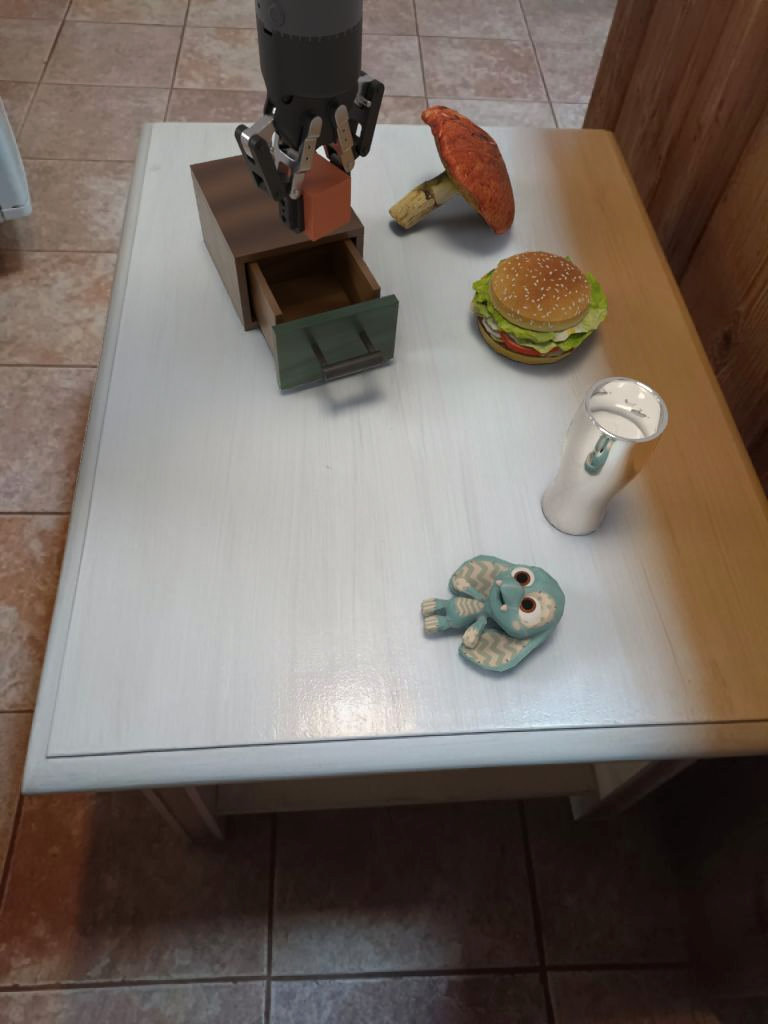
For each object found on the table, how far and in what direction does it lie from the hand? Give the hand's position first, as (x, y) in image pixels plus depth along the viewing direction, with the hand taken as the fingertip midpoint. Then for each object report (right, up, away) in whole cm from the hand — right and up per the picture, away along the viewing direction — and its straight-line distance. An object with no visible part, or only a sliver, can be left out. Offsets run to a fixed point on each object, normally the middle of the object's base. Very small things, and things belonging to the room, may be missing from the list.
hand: (315, 215), depth 65 cm
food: (+23, -6, +17) cm, 29 cm away
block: (0, 0, 0) cm, 0 cm away
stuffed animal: (+15, -36, -2) cm, 39 cm away
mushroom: (+14, +13, +21) cm, 28 cm away
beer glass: (+24, -26, +5) cm, 36 cm away
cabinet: (-6, +2, +19) cm, 20 cm away
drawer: (-1, -8, +13) cm, 15 cm away
